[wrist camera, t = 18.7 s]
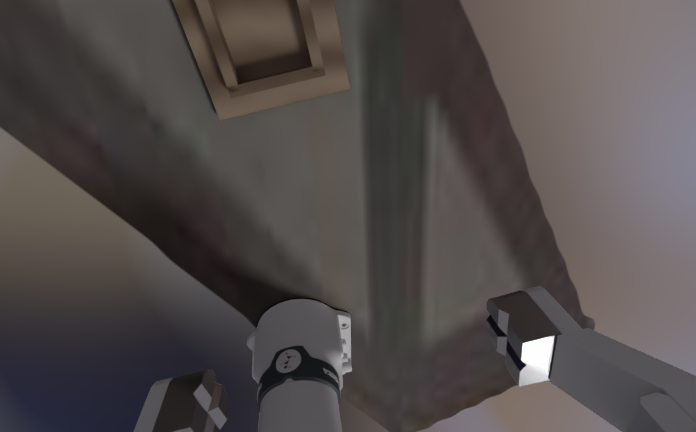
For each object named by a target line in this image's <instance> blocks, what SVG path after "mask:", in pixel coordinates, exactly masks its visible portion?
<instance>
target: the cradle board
mask: <svg viewBox="0 0 696 432" xmlns="http://www.w3.org/2000/svg"><path fill="white" fill-rule="evenodd" d="M172 1H173V4H174V6H175V9H176V11H177V14H178V16H179V19H180V21H181V24H182V26H183V29H184V31H185V34H186V36H187V39H188V41H189V44H190V46H191V49H192V51H193V54H194V56H195V59H196V61H197V64H198V66H199V69H200V71H201V74H202V76H203V79H204V81H205V84H206V86H207V89H208V91H209V94H210V96H211V99H212V102H213V104H214V107H215V109H216V112H217V114H218V117H219V119H220V120H224V119H228V118H232V117H237V116H241V115H245V114H249V113H253V112H257V111H261V110H266V109H270V108H274V107H278V106H282V105H286V104H290V103H294V102H299V101H303V100H307V99H311V98H315V97H319V96H323V95H327V94H332V93H336V92H340V91H344V90H348V89H350V85H349V80H348V74H347V69H346V64H345V59H344V54H343V48H342V43H341V38H340V33H339V27H338V22H337V17H336V12H335V7H334V1H333V0H172Z"/></svg>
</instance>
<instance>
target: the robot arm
mask: <svg viewBox="0 0 696 432" xmlns="http://www.w3.org/2000/svg"><path fill="white" fill-rule="evenodd" d="M487 310H488V311H489V313H490V315H489V317H488V318H487V330H488V334H489V337H490V339H491V341H492V344H493V345H494V347H495V349H496V350H497V352H499V353H501V354H502V355H504V356H506V363H505V365H506V367H507V369H508V370H509V372H510V373H511V375H512V377H513V378H514V380H515V381H516V383H517V385H518V386H523V385H527V384H532V383H537V382H541V381H545V380H550V382H551V383H552V384H554V385H555V386H557V387H558V388H560V389H561V390H563V391H564V392H565V393H567V394H568V395H570V396H571V397H573V398H574V399H576V400H577V401H578V402H580V403H581V404H583V405H584V406H586V407H587V408H589V409H590V410H592V411H593V412H594V413H596V414H597V415H599V416H600V417H602V418H603V419H605V420H606V421H607V422H609V423H610V424H612V425H613V426H615V427H616V428H618V429H619V430H620V431H622V432H696V376H695V375H692V374H690V373H688V372H685V371H683V370H681V369H679V368H677V367H674V366H672V365H670V364H668V363H665V362H663V361H661V360H658V359H656V358H654V357H652V356H650V355H647V354H645V353H643V352H641V351H638V350H636V349H634V348H631V347H629V346H627V345H625V344H623V343H620V342H618V341H616V340H614V339H611V338H609V337H607V336H604V335H602V334H600V333H598V332H596V331H593V330H591V329H589V328H587V329H582V328H581V327H580V326H579V325H578V324H577V323H576V322H575V321H574V320H573V319H572V318H571V316H570V315H569V314H568V313H567V312H566V311H565V310H564V309H563V308H562V307H561V306H560V305H559V304H558V303H557V302H556V300H555V299H554V298H553V297H552V296H551V295H550V294H549V293H548V292H547V291H546V290H545V289H544V288H543V287H541V286H538V287H534V288H530V289H526V290H523V291H517V292H513V293H510V294H506V295H502V296H498V297H494V298H491V299H488V301H487ZM344 323H345V324H344ZM247 346H248V347H249V348H250V349H251V350H252V351H253V364H252V376H253V379H255V380H256V382H257V383H258V384H259V388H258V393H257V394H258V395H257V401H258V405H257V406H258V410H259V413H260V415H259V427H258V432H342V426H341V420H340V414H339V403H340V395H341V389H342V387H343V377H342V375H343V374H345V373H346V372H351V371H352V367H351V318H350V314H349V313H347V312H343V311H338V310H334V309H332V308H330V307H328V306H327V305H325V304H323V303H321V302H318V301H315V300H309V299H294V300H288V301H284V302H281V303H279V304H277V305H275V306H273V307H271V308H270V309H269V310H267V311H266V312H265V313H264V314H263V316H262V317H261V318H260V320H259V323H258V325H257V328H256V329H255V331H254V332H252V333H251V334H250V335H249V337H248V338H247ZM215 380H216V375H215V374H214V373H213V372H212V370H205V371H201V372H197V373H192V374H187V375H183V376H179V377H174V378H170V379H166V380H162V381H157V382H155V384H154V385H153V386H152V387H151V389H150V392H149V394H148V397H147V399H146V402H145V404H144V407H143V409H142V412H141V414H140V417H139V419H138V422H137V425H136V427H135V430H134V432H221V430H220V429H221V427H222V426H223V425H224V423H225V422H226V420H227V416H228V409H229V407H228V396H227V394H226V390H225V389H224V387H223V386H222V385H220V384H217V383H215Z"/></svg>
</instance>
